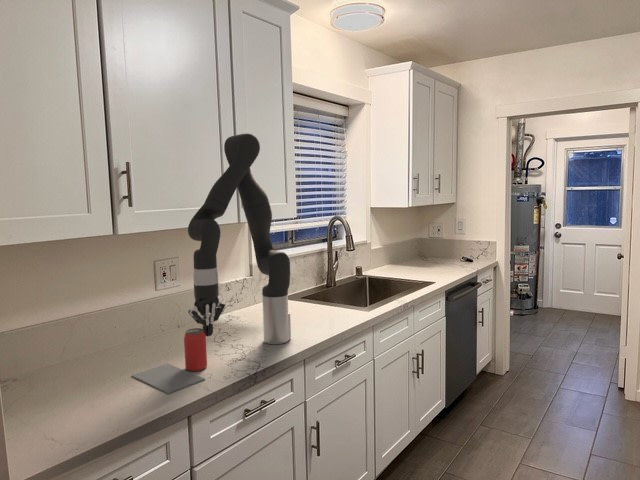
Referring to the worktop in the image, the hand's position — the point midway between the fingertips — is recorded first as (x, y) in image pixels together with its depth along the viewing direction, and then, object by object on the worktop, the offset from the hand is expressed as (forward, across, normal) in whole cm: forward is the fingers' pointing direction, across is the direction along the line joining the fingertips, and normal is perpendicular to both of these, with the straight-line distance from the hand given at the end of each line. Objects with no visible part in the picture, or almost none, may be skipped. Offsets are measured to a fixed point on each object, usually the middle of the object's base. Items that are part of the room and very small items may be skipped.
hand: (208, 335), depth 147 cm
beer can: (+9, +5, 0) cm, 11 cm away
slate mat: (+9, +15, 0) cm, 18 cm away
